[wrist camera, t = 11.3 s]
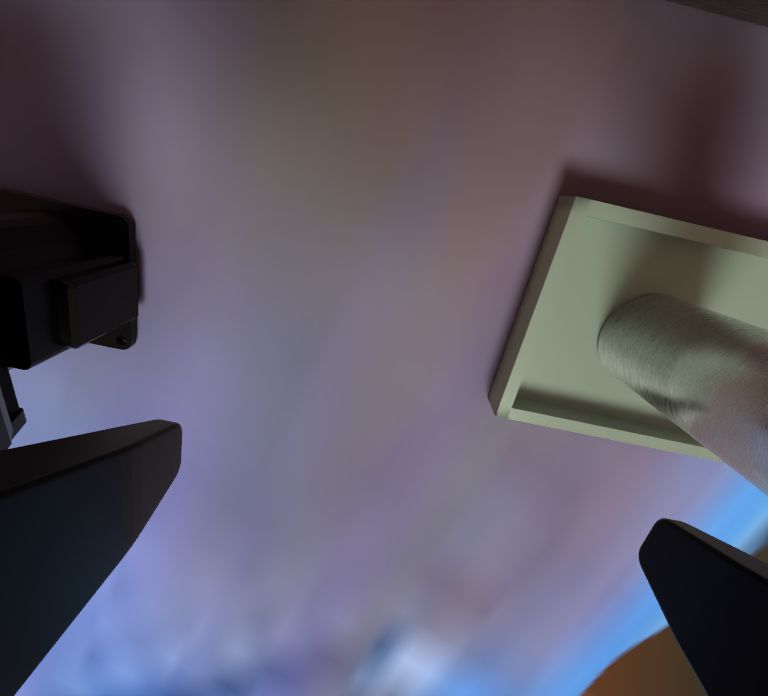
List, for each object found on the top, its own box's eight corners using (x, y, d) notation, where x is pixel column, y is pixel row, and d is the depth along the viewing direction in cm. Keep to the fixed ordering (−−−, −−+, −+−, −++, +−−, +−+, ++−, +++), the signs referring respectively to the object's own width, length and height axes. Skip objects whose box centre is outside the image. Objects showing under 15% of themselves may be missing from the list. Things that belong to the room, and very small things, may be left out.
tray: (487, 398, 21) (495, 416, 20) (559, 195, 18) (576, 196, 16) (722, 446, 22) (749, 467, 20) (839, 261, 18) (883, 268, 17)
